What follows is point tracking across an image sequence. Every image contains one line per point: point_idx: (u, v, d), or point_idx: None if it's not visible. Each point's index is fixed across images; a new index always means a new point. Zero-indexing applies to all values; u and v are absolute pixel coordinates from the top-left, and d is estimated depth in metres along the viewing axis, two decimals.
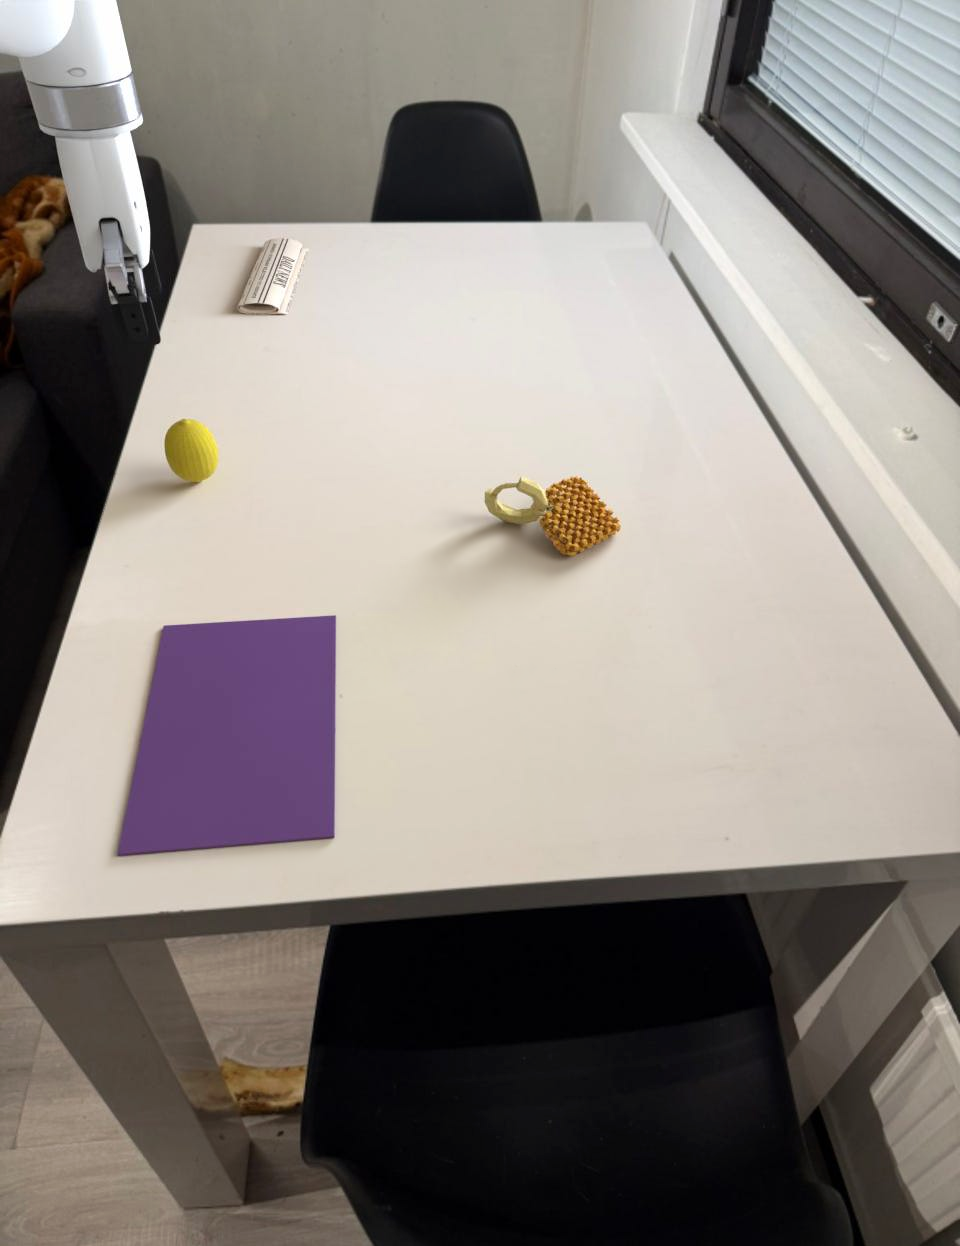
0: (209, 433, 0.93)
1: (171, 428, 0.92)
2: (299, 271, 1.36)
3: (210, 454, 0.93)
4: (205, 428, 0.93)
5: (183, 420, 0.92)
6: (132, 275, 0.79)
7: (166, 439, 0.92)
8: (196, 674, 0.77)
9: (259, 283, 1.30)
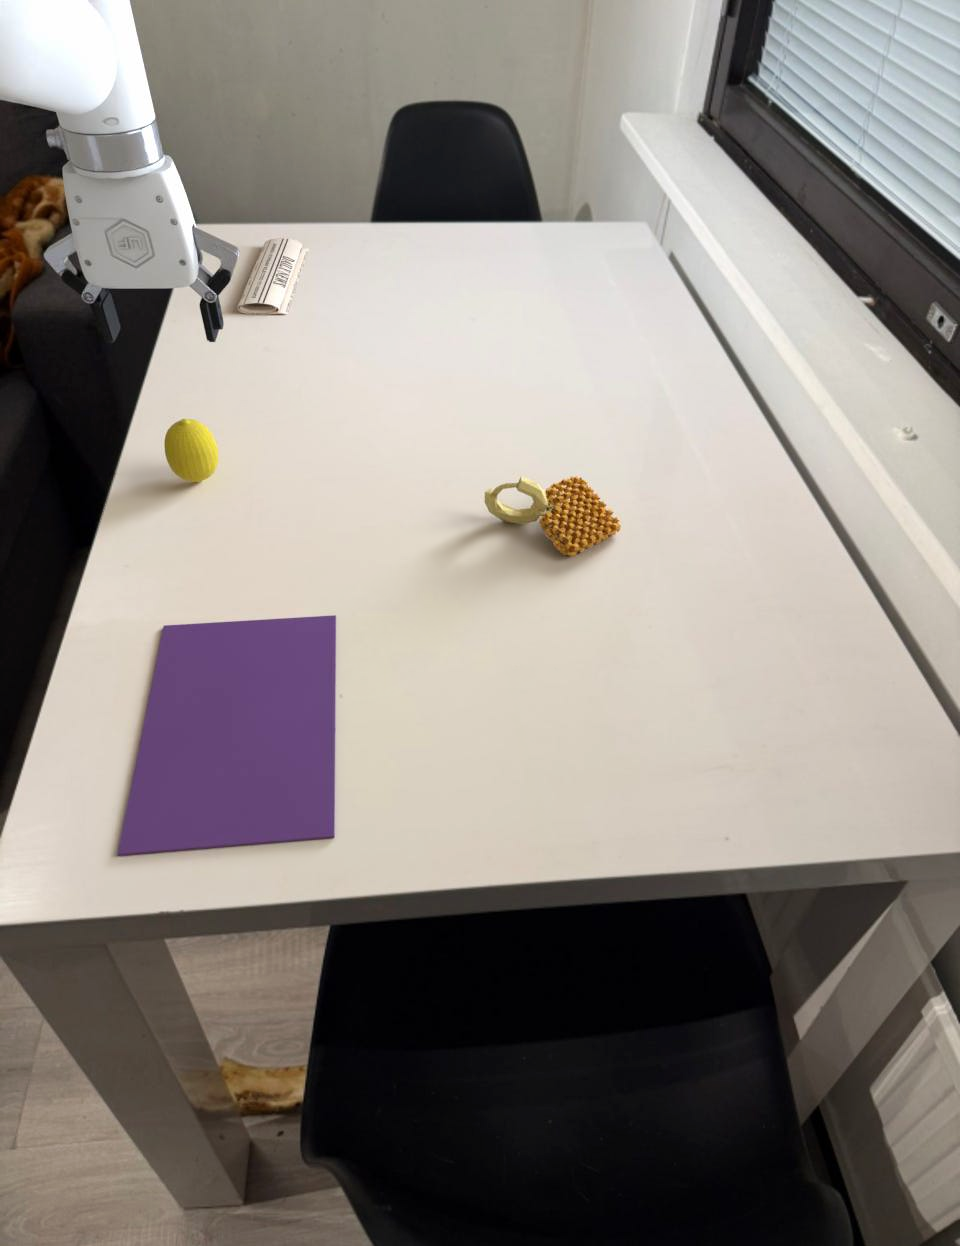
0: (209, 433, 0.93)
1: (171, 428, 0.92)
2: (299, 271, 1.36)
3: (210, 454, 0.93)
4: (205, 428, 0.93)
5: (183, 420, 0.92)
6: (110, 319, 0.83)
7: (166, 439, 0.92)
8: (196, 674, 0.77)
9: (259, 283, 1.30)
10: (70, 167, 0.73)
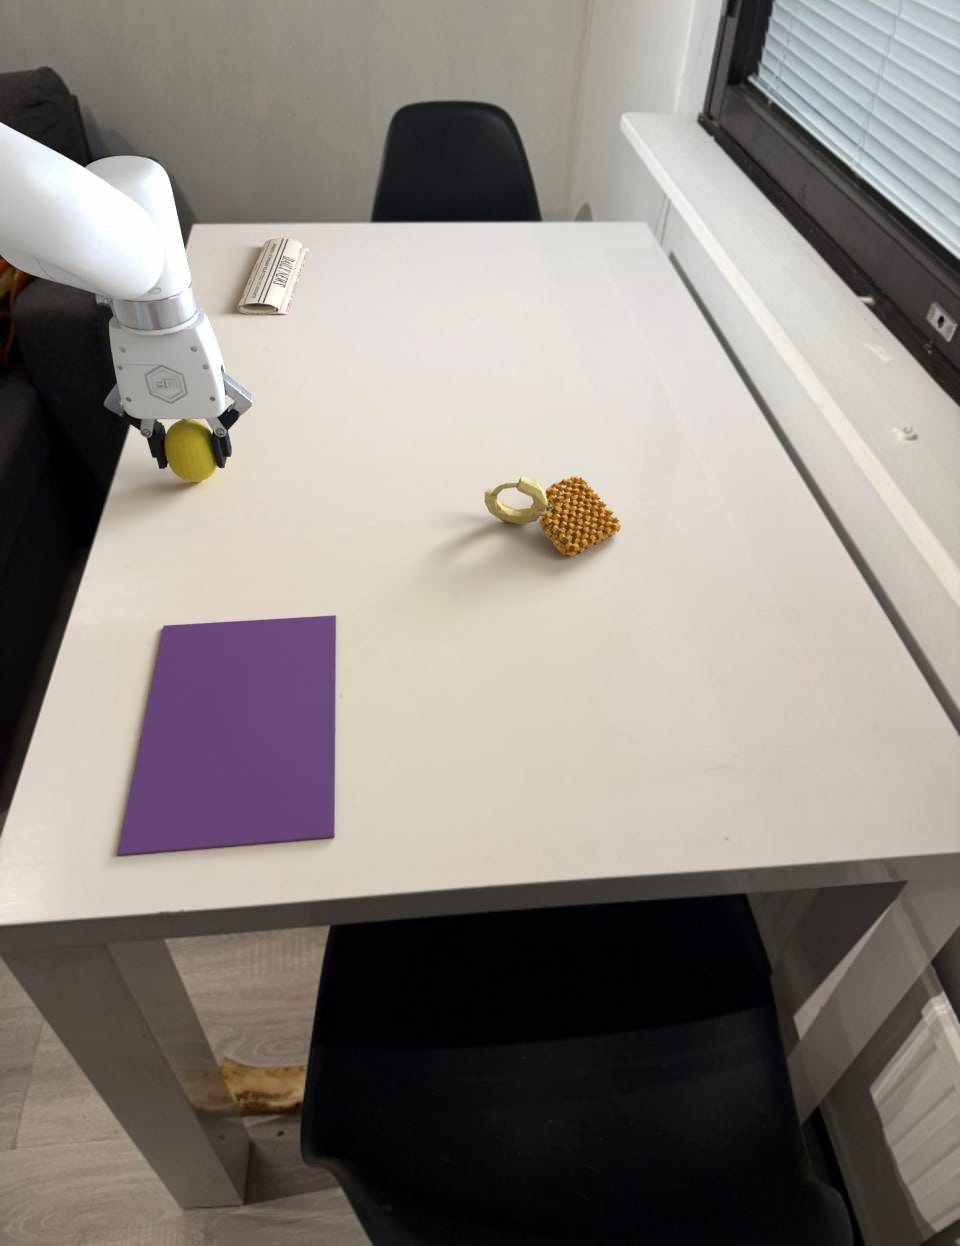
0: (209, 433, 0.93)
1: (171, 428, 0.92)
2: (299, 271, 1.36)
3: (210, 454, 0.93)
4: (205, 428, 0.93)
5: (183, 420, 0.92)
6: (163, 449, 0.94)
7: (166, 439, 0.92)
8: (196, 674, 0.77)
9: (259, 283, 1.30)
10: (116, 322, 0.83)
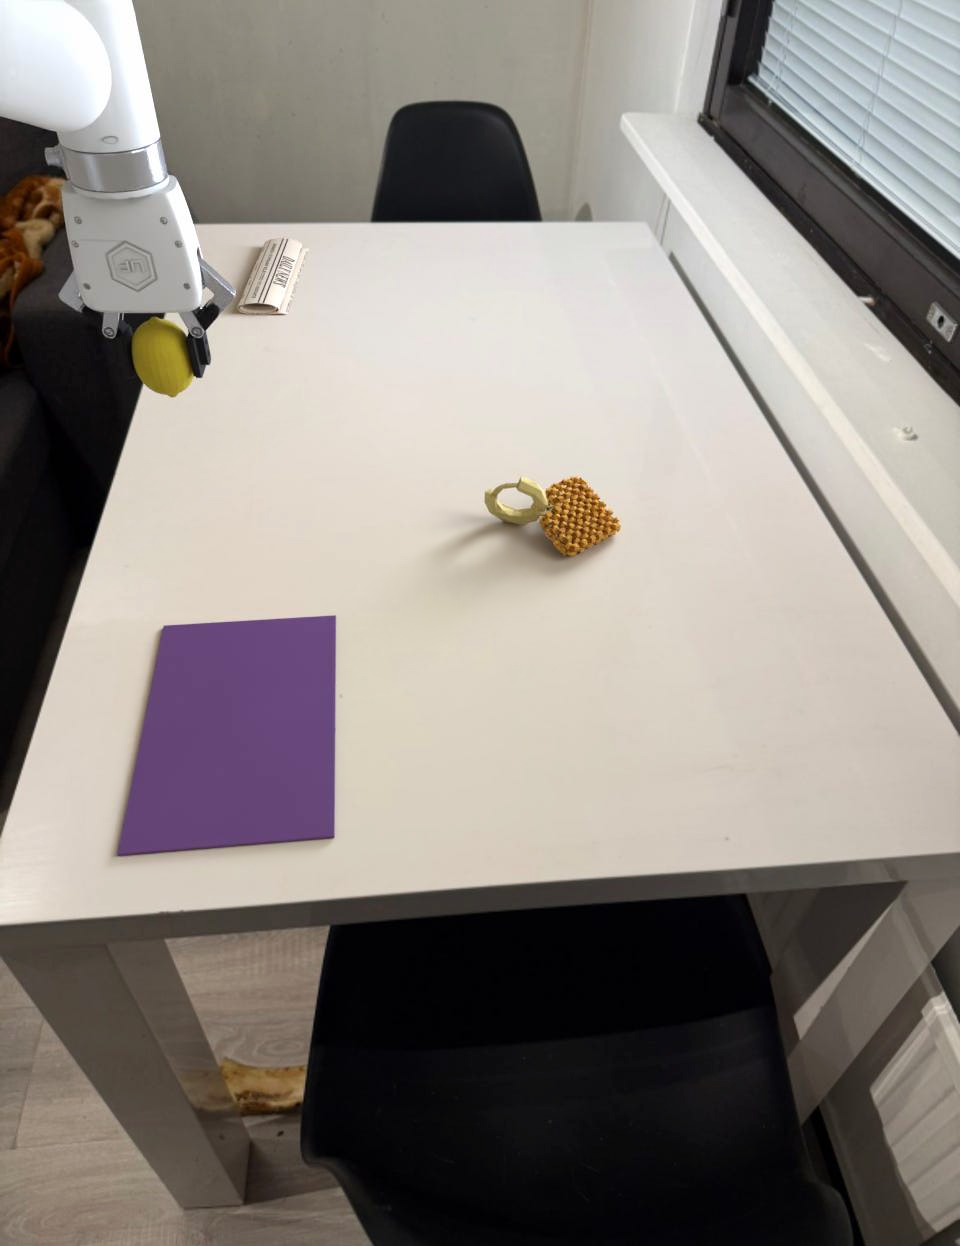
0: (184, 335, 0.80)
1: (139, 328, 0.79)
2: (299, 271, 1.36)
3: (185, 360, 0.80)
4: (179, 329, 0.80)
5: (153, 318, 0.78)
6: (130, 354, 0.80)
7: (133, 341, 0.79)
8: (196, 674, 0.77)
9: (259, 283, 1.30)
10: (70, 187, 0.69)
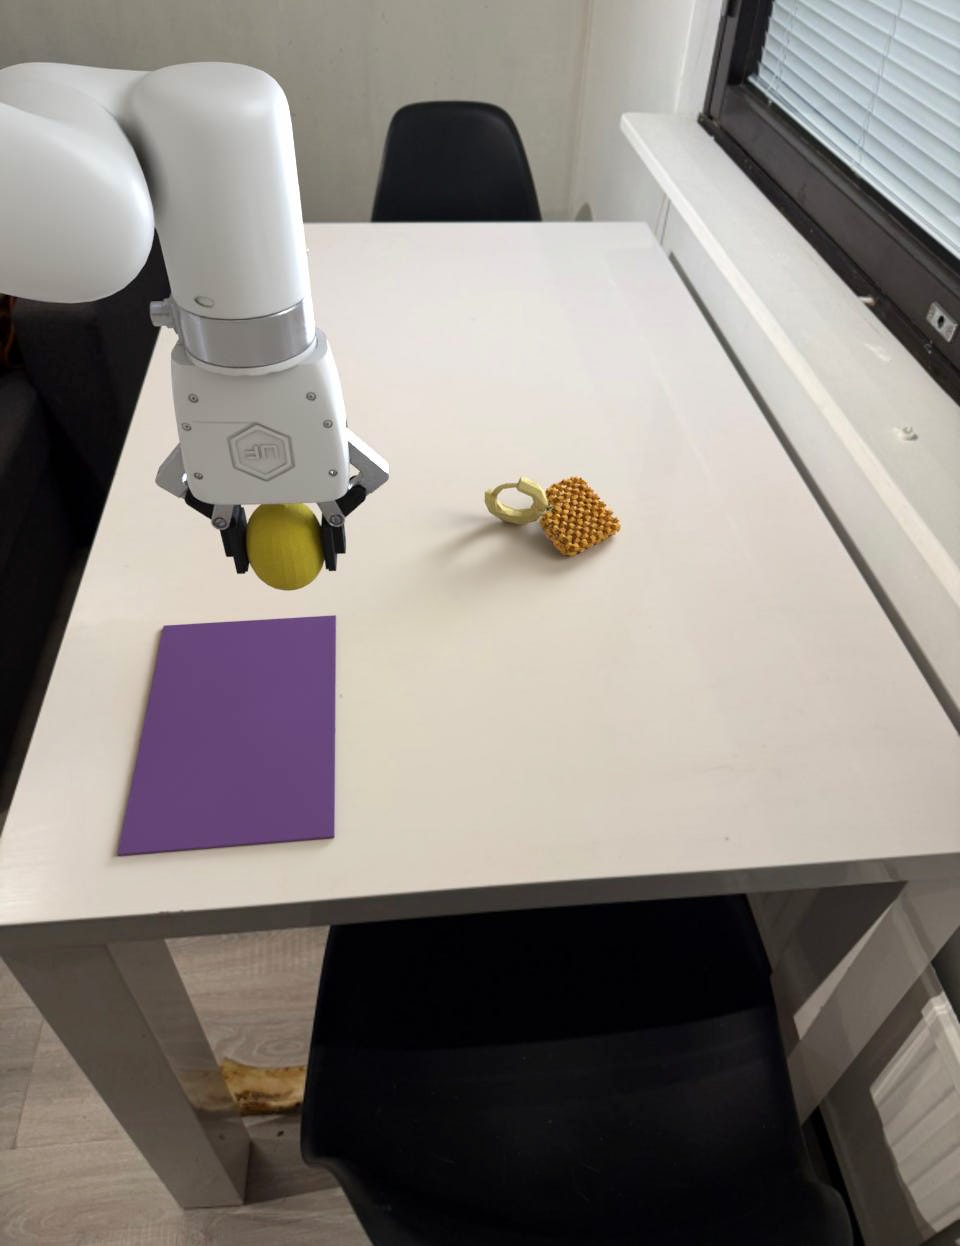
0: (315, 519, 0.60)
1: (258, 513, 0.59)
2: None
3: (317, 552, 0.60)
4: (309, 511, 0.60)
5: None
6: (244, 544, 0.60)
7: (250, 530, 0.59)
8: (196, 674, 0.77)
9: None
10: (182, 353, 0.50)
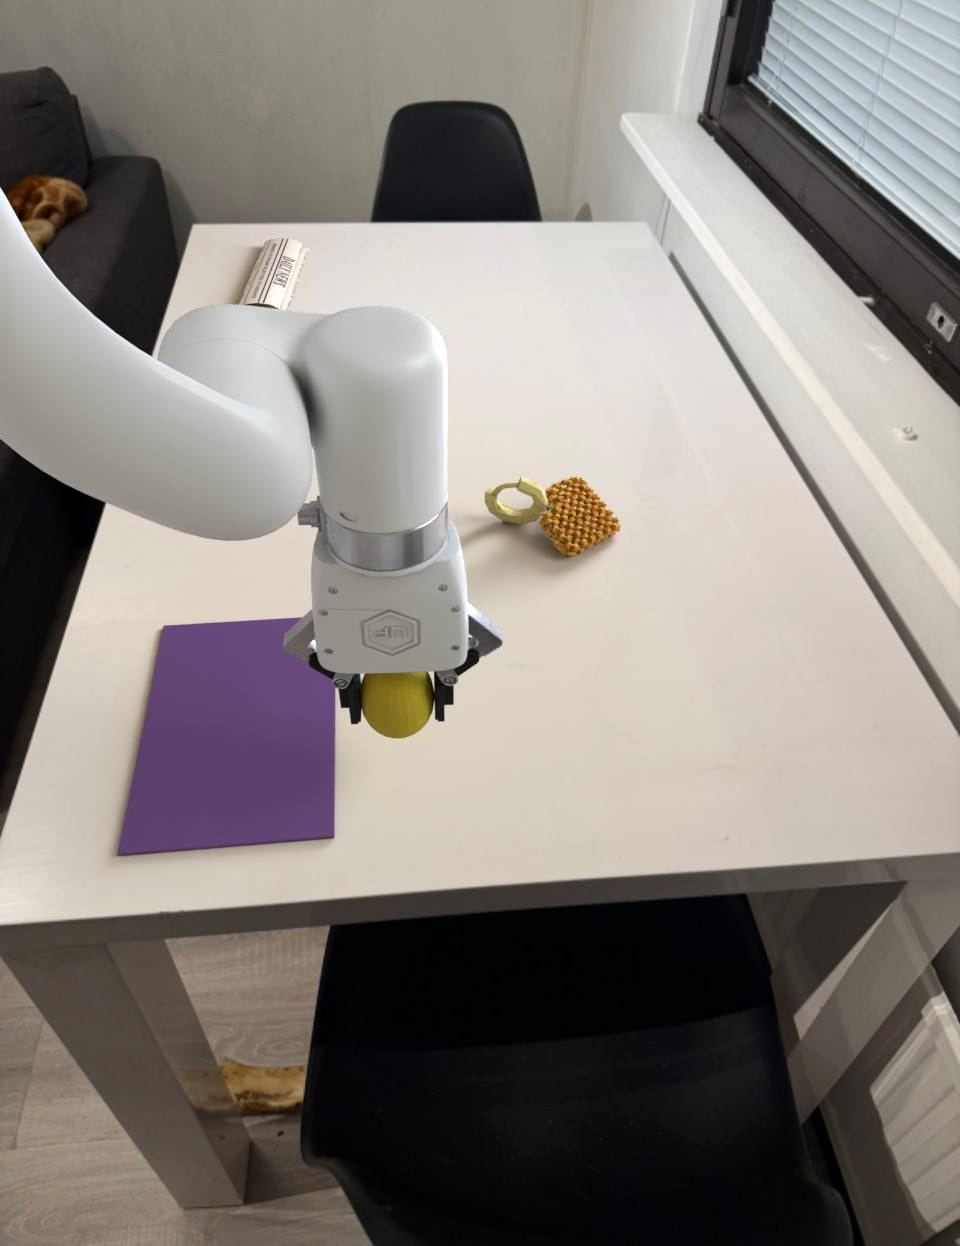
0: (427, 674, 0.63)
1: None
2: (299, 271, 1.36)
3: (428, 706, 0.63)
4: None
5: None
6: (359, 697, 0.63)
7: (367, 687, 0.62)
8: (196, 674, 0.77)
9: (259, 283, 1.30)
10: (324, 549, 0.53)
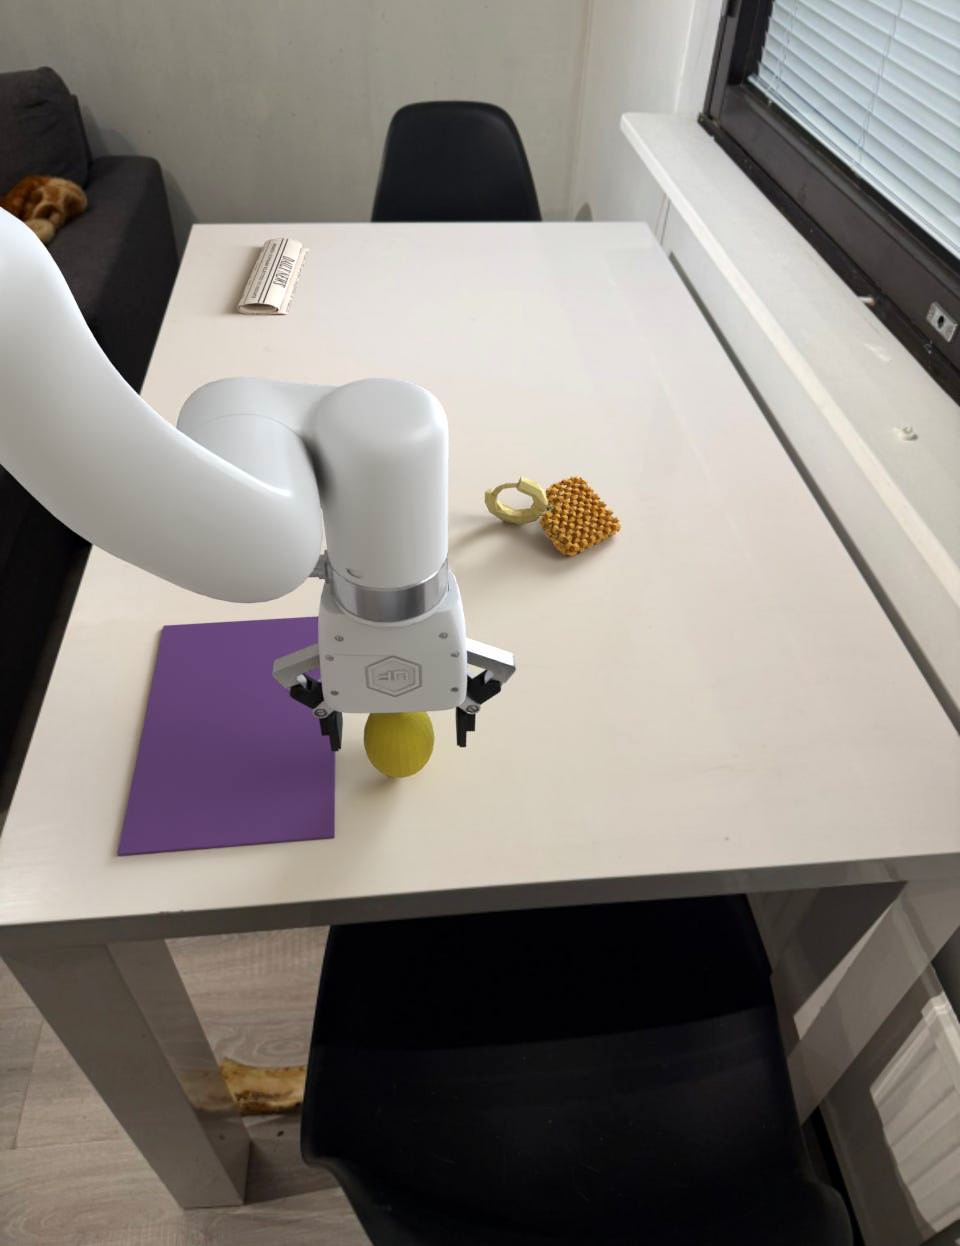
0: (427, 718, 0.67)
1: (378, 716, 0.65)
2: (299, 271, 1.36)
3: (428, 747, 0.67)
4: (422, 712, 0.67)
5: None
6: (339, 726, 0.65)
7: (370, 731, 0.66)
8: (196, 674, 0.77)
9: (259, 283, 1.30)
10: (331, 599, 0.56)
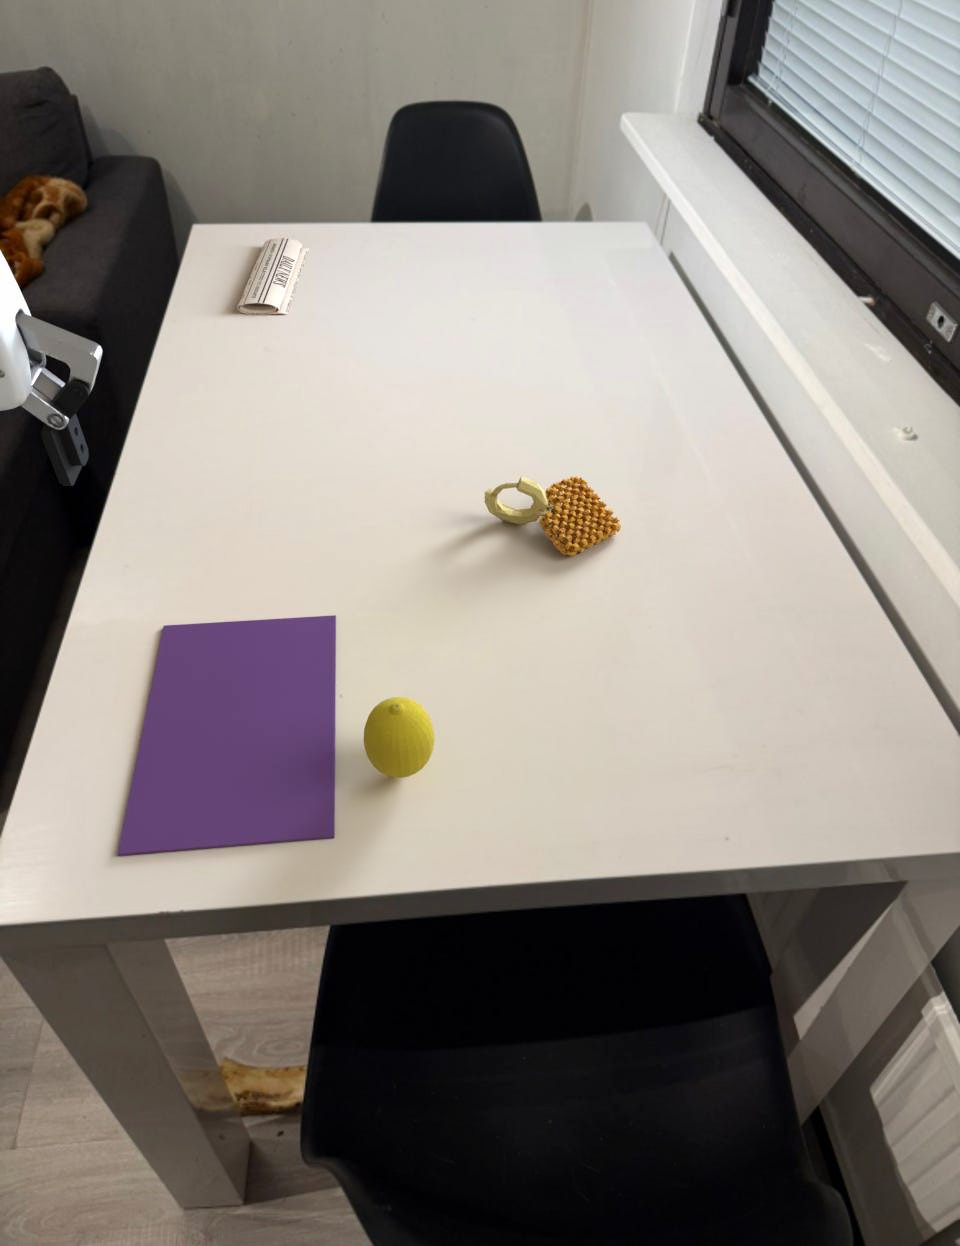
0: (427, 718, 0.67)
1: (378, 716, 0.65)
2: (299, 271, 1.36)
3: (429, 747, 0.67)
4: (422, 712, 0.67)
5: (396, 706, 0.65)
6: None
7: (371, 731, 0.66)
8: (196, 674, 0.77)
9: (259, 283, 1.30)
10: None
